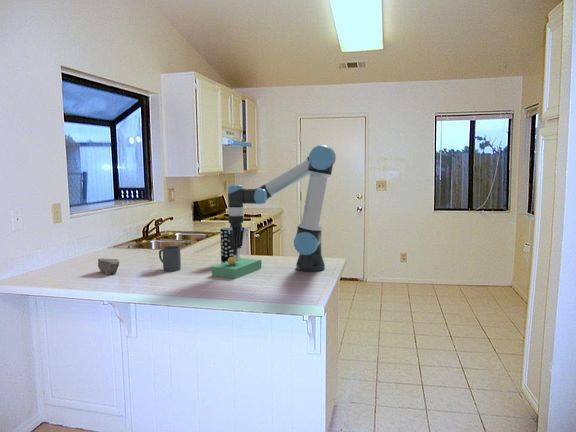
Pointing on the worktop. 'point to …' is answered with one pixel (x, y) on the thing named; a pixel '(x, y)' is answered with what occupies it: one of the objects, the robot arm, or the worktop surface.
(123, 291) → the worktop surface
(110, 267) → the stone
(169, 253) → the mug
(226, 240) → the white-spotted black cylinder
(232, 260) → the ball
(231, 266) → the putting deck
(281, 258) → the worktop surface
